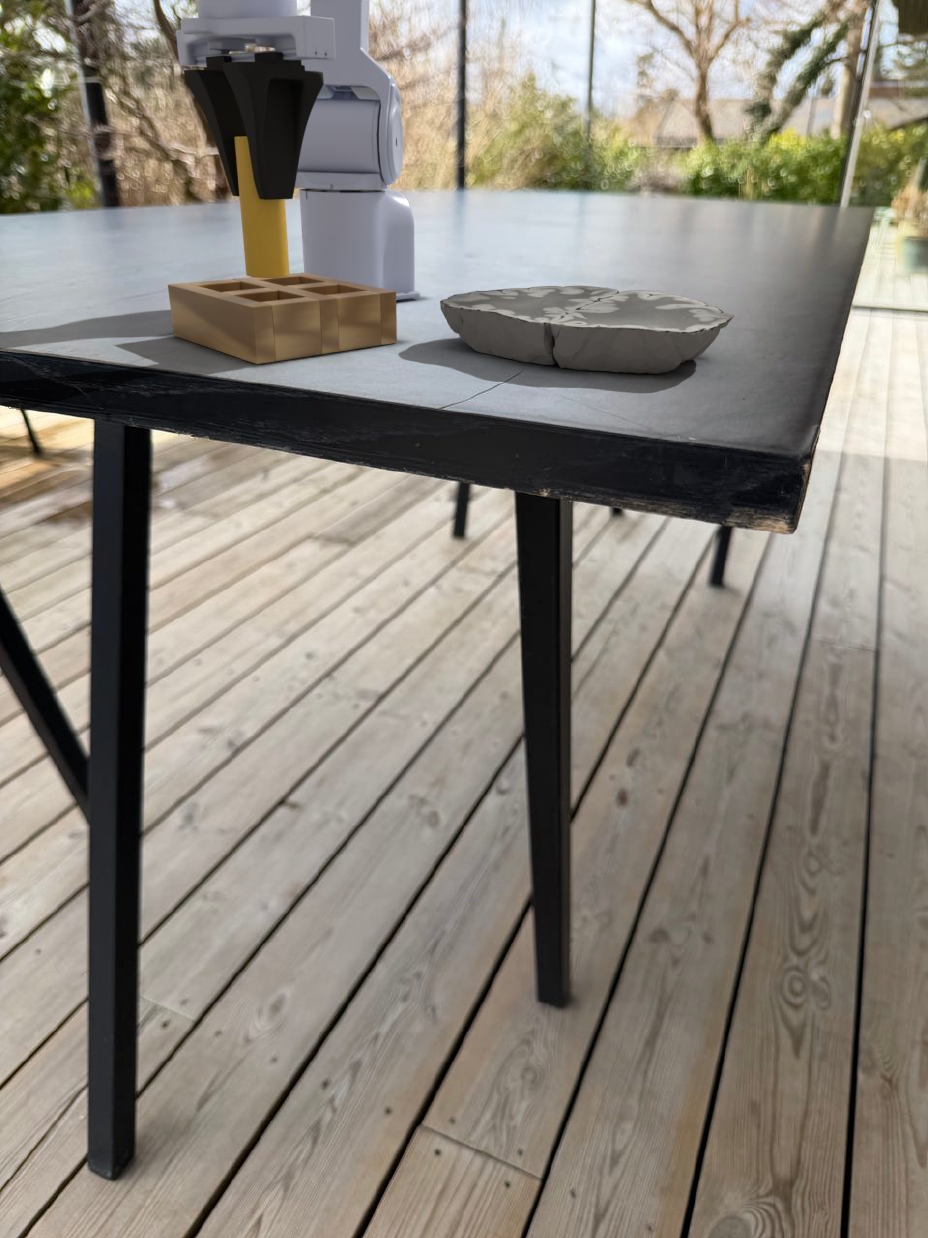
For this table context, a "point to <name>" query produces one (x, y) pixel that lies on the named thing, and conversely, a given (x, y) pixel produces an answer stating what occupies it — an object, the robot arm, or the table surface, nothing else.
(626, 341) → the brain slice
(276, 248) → the yellow peg
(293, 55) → the robot arm
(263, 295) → the stand
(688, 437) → the table surface
